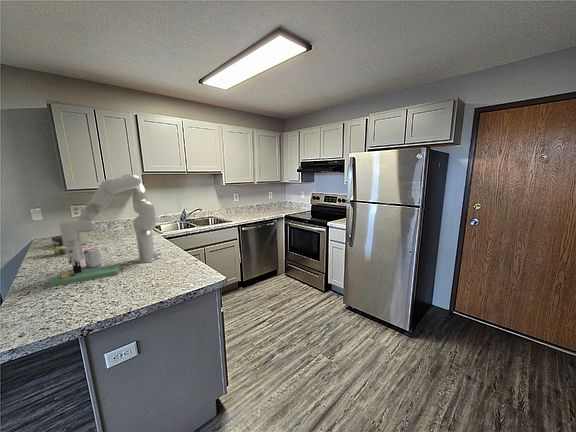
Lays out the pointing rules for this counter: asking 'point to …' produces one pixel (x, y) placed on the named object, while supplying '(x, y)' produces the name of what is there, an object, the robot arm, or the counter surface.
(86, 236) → the canister
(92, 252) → the supplement box
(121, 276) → the counter surface
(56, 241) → the coffee can
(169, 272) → the counter surface
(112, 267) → the green
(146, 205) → the robot arm
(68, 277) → the ball
